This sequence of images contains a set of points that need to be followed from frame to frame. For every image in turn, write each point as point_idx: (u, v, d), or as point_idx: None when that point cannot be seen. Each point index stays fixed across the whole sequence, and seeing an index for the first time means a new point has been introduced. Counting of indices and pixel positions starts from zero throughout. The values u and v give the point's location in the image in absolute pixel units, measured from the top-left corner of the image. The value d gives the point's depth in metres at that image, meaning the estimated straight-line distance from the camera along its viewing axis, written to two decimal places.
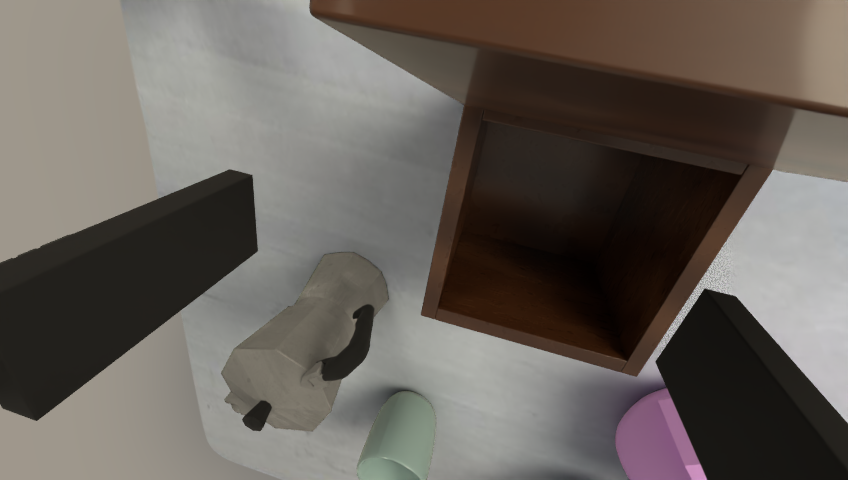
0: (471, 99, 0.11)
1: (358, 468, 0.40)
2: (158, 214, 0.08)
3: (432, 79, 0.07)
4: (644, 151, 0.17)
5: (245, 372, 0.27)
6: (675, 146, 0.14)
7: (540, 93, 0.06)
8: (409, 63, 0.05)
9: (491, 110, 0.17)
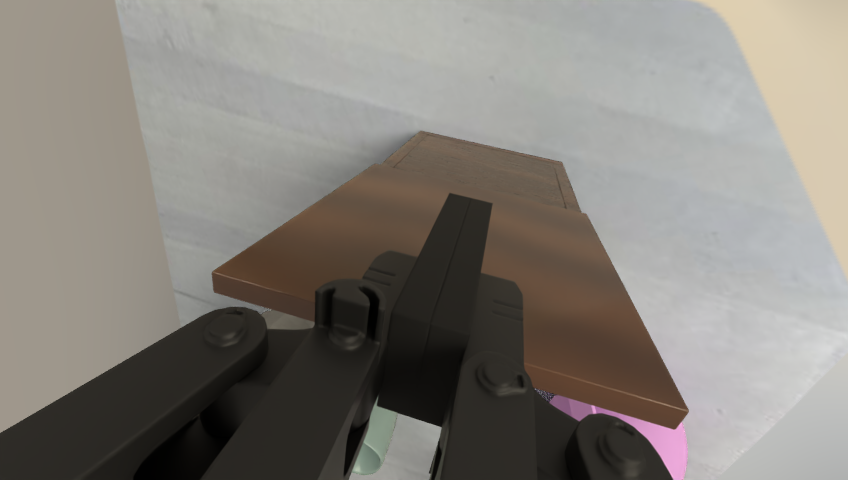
0: None
1: None
2: (450, 238, 0.10)
3: None
4: None
5: None
6: None
7: None
8: None
9: None
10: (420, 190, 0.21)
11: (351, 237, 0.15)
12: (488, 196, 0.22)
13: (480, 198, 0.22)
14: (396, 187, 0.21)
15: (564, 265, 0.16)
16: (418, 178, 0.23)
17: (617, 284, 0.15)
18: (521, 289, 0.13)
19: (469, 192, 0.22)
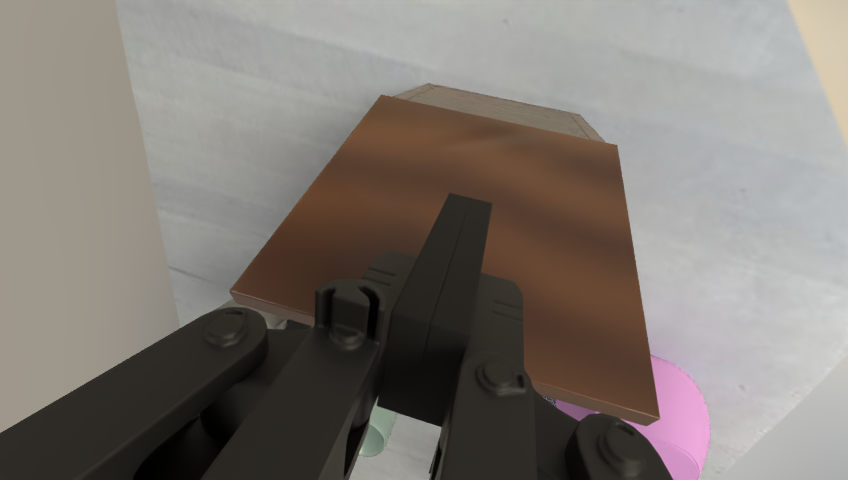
0: None
1: None
2: (450, 238, 0.10)
3: None
4: None
5: None
6: None
7: None
8: None
9: None
10: (430, 135, 0.20)
11: (356, 223, 0.15)
12: (505, 133, 0.20)
13: (497, 137, 0.20)
14: (403, 134, 0.19)
15: (575, 236, 0.15)
16: (429, 113, 0.21)
17: (628, 257, 0.15)
18: (523, 278, 0.14)
19: (484, 129, 0.20)
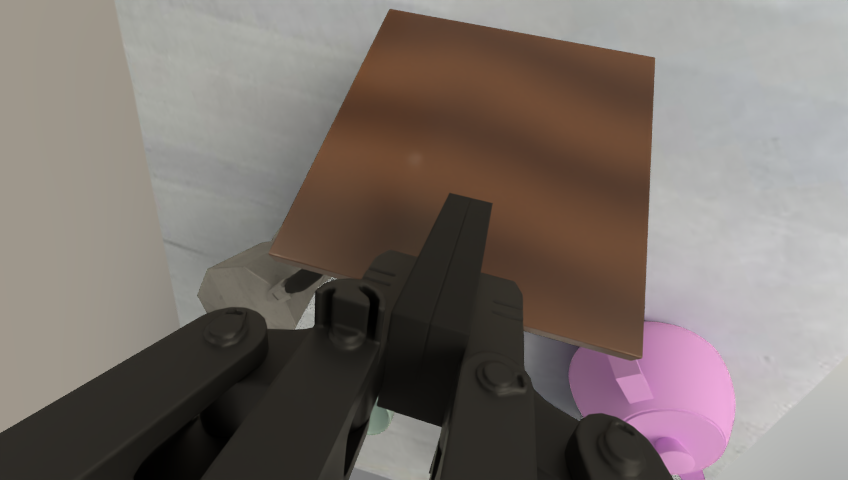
0: None
1: None
2: (450, 238, 0.10)
3: None
4: None
5: (218, 290, 0.31)
6: None
7: None
8: None
9: None
10: (444, 62, 0.18)
11: (372, 178, 0.15)
12: (527, 51, 0.18)
13: (517, 58, 0.18)
14: (415, 64, 0.18)
15: (590, 179, 0.15)
16: (442, 31, 0.19)
17: (642, 201, 0.15)
18: (533, 229, 0.14)
19: (504, 48, 0.19)
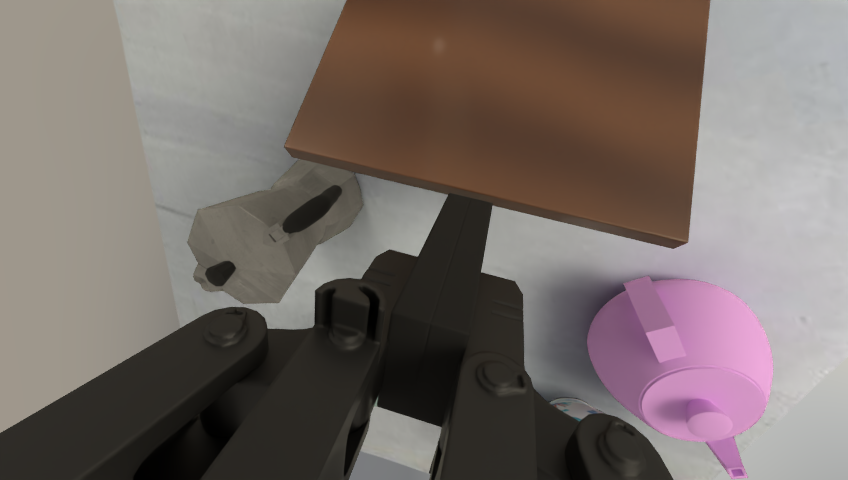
0: None
1: None
2: (450, 238, 0.10)
3: None
4: None
5: (209, 233, 0.28)
6: None
7: None
8: None
9: None
10: None
11: (391, 64, 0.14)
12: None
13: None
14: None
15: (636, 57, 0.14)
16: None
17: (695, 79, 0.13)
18: (570, 112, 0.13)
19: None
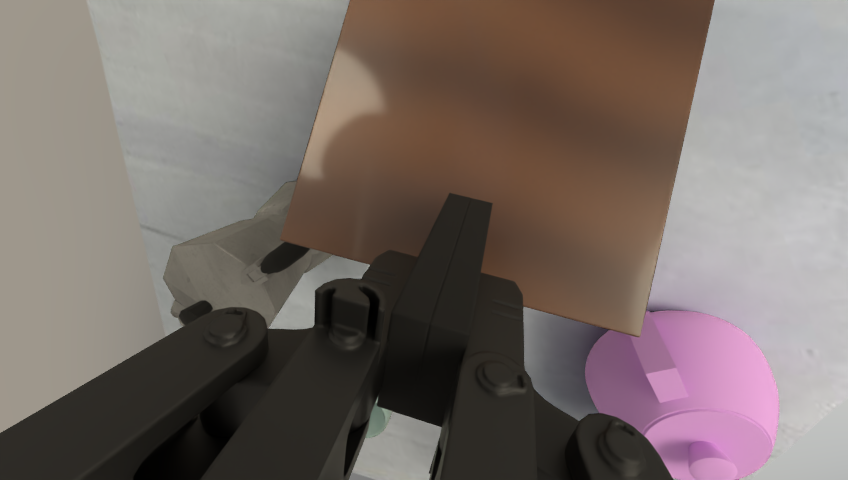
0: None
1: None
2: (450, 238, 0.10)
3: None
4: None
5: (185, 271, 0.26)
6: None
7: None
8: None
9: None
10: None
11: (373, 151, 0.15)
12: None
13: None
14: None
15: (613, 142, 0.14)
16: None
17: (669, 167, 0.13)
18: (543, 205, 0.14)
19: None
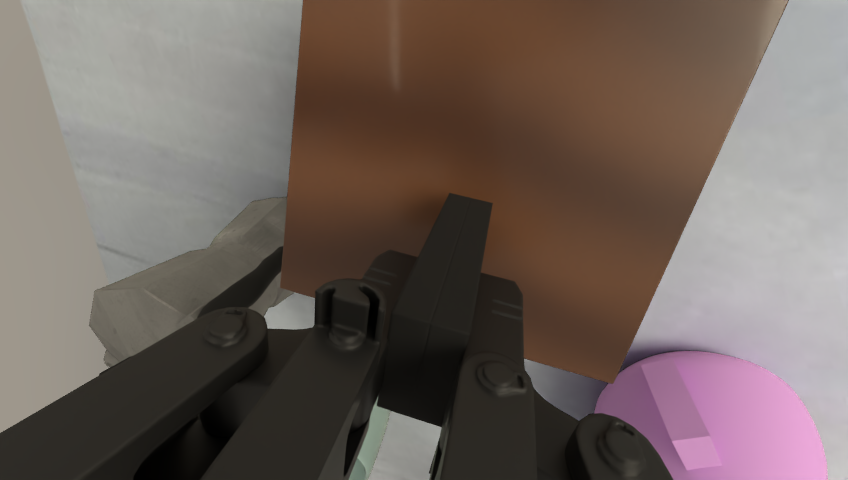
0: None
1: None
2: (450, 238, 0.10)
3: None
4: None
5: (110, 321, 0.21)
6: None
7: None
8: None
9: None
10: None
11: (353, 206, 0.14)
12: None
13: None
14: None
15: (613, 200, 0.12)
16: None
17: (674, 229, 0.12)
18: (529, 265, 0.13)
19: None
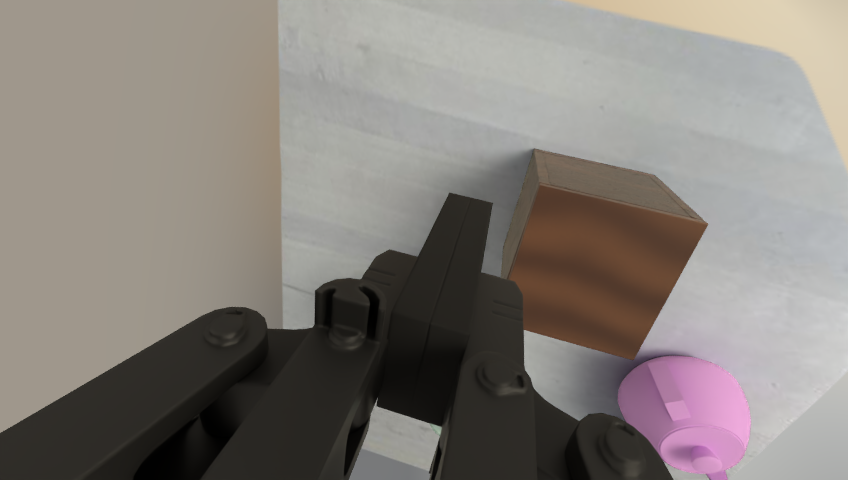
0: None
1: None
2: (450, 238, 0.10)
3: None
4: None
5: None
6: None
7: None
8: None
9: None
10: (572, 229, 0.33)
11: (534, 294, 0.36)
12: (625, 220, 0.32)
13: (617, 226, 0.32)
14: (555, 230, 0.33)
15: (637, 298, 0.34)
16: (573, 204, 0.32)
17: (658, 308, 0.34)
18: (603, 317, 0.35)
19: (611, 218, 0.32)
